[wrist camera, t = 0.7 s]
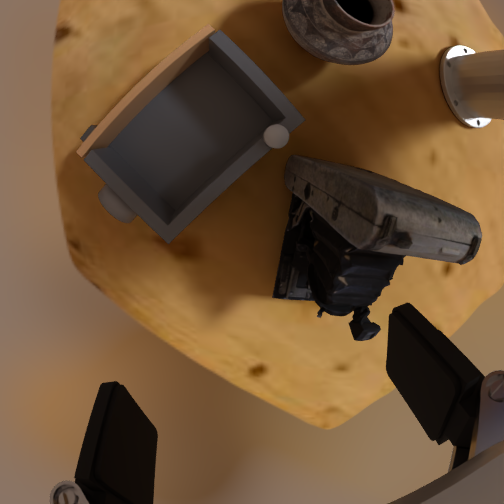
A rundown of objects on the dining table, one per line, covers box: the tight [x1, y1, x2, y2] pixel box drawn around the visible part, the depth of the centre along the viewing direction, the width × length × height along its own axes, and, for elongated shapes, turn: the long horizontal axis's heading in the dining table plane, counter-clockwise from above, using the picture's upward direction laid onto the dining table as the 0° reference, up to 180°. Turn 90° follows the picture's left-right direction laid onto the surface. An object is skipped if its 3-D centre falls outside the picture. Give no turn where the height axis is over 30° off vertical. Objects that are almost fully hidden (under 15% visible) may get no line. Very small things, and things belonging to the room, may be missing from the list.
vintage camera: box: [272, 155, 482, 341], centre depth 25 cm, size 10×16×20 cm, turn 171°
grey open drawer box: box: [84, 30, 305, 244], centre depth 25 cm, size 18×12×7 cm
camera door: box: [76, 24, 215, 158], centre depth 23 cm, size 16×2×5 cm, turn 132°
